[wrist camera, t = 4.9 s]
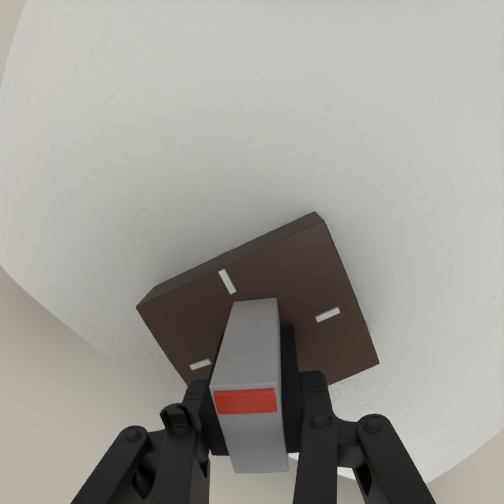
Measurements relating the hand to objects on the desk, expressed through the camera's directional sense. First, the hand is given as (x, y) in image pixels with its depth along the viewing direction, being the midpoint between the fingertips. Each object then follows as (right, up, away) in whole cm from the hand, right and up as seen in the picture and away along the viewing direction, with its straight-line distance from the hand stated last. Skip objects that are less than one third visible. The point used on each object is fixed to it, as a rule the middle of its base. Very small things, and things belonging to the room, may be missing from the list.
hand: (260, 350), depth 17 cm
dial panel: (0, +1, +4) cm, 5 cm away
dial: (0, 0, +1) cm, 1 cm away
